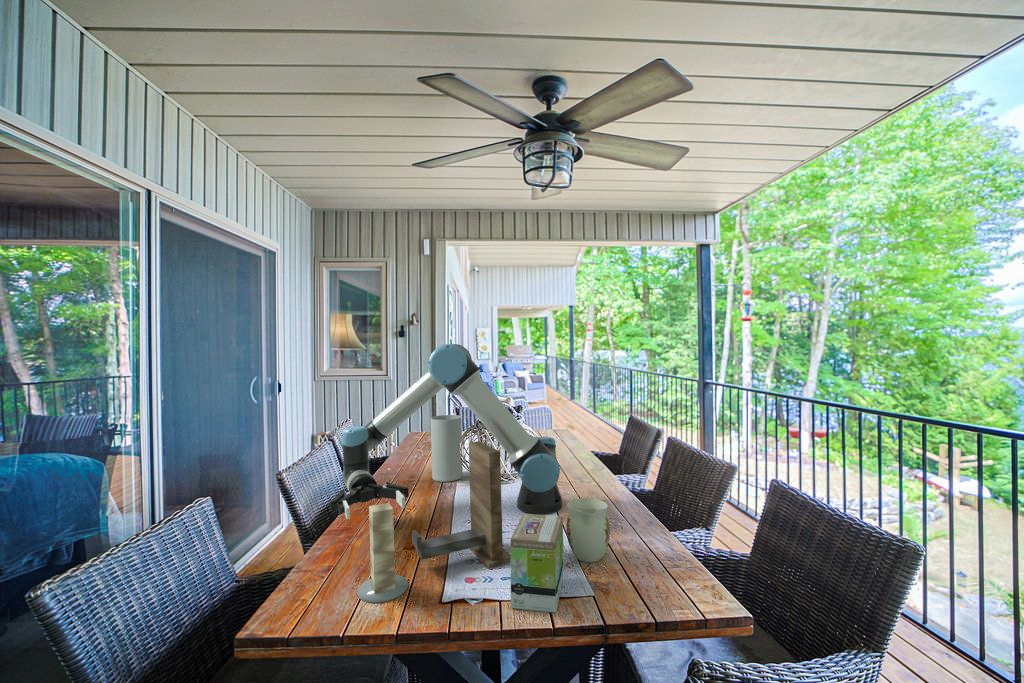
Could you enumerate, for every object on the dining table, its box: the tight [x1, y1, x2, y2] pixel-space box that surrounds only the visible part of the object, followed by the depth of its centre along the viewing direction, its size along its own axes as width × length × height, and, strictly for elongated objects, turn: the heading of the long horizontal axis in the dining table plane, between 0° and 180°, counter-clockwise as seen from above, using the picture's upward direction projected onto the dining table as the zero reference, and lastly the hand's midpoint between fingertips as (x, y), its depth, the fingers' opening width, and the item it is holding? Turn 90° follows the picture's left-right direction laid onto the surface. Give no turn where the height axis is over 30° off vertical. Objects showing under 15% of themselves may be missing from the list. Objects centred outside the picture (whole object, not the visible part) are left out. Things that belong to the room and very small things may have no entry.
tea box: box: [510, 513, 564, 613], centre depth 102 cm, size 15×10×15 cm, turn 168°
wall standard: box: [411, 441, 511, 570], centre depth 118 cm, size 23×16×28 cm
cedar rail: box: [368, 502, 396, 594], centre depth 105 cm, size 4×4×18 cm
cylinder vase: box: [430, 414, 464, 483], centre depth 190 cm, size 12×12×25 cm
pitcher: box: [565, 497, 611, 563], centre depth 119 cm, size 11×18×14 cm, turn 174°
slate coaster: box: [357, 574, 409, 604], centre depth 105 cm, size 11×11×1 cm
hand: (376, 508), depth 116 cm, fingers open, 13 cm apart
